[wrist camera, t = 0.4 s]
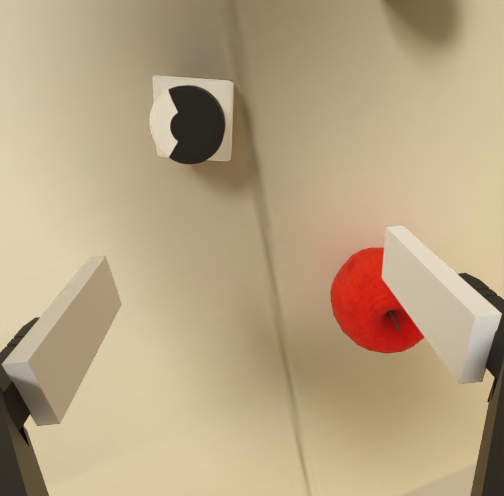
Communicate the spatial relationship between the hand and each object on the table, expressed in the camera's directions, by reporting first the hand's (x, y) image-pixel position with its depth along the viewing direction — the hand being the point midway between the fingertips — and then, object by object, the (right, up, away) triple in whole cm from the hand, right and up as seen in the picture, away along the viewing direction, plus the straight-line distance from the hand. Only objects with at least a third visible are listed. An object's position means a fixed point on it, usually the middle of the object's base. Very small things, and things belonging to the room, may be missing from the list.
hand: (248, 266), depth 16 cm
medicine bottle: (-5, +16, +22) cm, 27 cm away
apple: (+15, -1, +31) cm, 35 cm away
